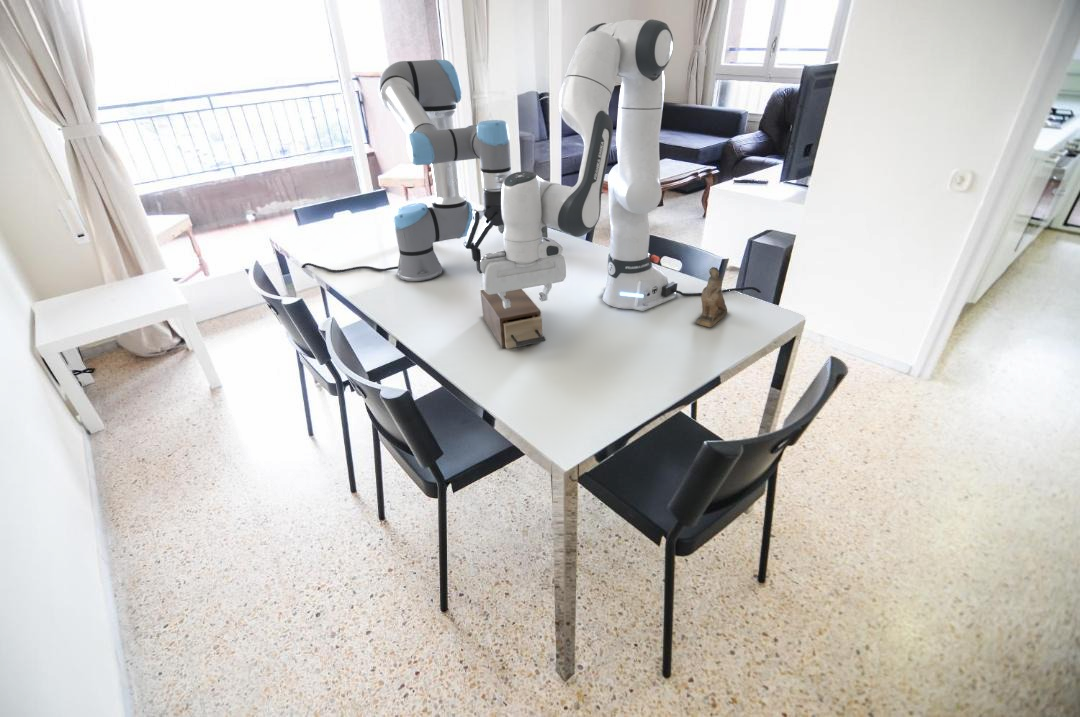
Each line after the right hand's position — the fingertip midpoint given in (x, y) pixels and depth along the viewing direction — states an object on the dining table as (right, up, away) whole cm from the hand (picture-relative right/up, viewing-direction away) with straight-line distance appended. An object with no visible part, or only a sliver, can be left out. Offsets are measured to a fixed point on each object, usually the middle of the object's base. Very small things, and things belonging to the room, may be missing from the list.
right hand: (525, 303), depth 120 cm
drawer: (-3, -7, +14) cm, 15 cm away
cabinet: (-5, -5, +19) cm, 20 cm away
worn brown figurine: (+52, -2, +20) cm, 55 cm away
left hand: (-7, +12, +17) cm, 21 cm away
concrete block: (-3, +34, +81) cm, 88 cm away
